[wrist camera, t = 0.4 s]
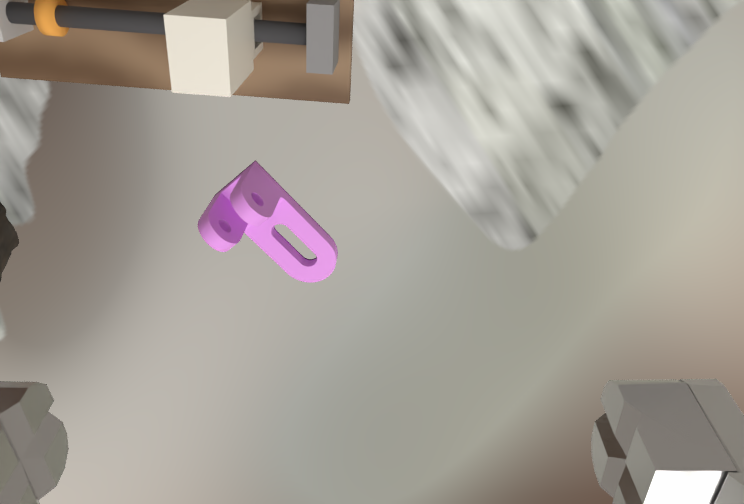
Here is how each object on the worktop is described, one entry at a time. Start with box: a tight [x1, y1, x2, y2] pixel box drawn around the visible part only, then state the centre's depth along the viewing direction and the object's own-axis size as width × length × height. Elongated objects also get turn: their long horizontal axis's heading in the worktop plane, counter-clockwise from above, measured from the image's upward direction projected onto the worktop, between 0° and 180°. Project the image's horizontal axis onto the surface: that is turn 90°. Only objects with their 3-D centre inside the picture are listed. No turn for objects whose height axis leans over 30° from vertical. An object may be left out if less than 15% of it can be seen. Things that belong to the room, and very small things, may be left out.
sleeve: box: [163, 0, 263, 97], centre depth 46 cm, size 5×4×10 cm
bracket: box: [198, 161, 338, 282], centre depth 58 cm, size 13×6×7 cm, turn 41°
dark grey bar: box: [0, 0, 340, 75], centre depth 49 cm, size 5×29×4 cm, turn 87°
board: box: [0, 0, 354, 104], centre depth 51 cm, size 12×30×1 cm, turn 87°
